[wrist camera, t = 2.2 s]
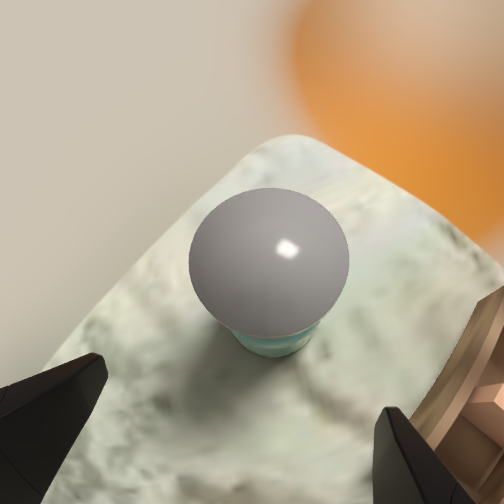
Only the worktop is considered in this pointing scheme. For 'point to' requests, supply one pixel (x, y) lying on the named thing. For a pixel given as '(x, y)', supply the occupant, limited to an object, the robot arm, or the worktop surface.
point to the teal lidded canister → (269, 267)
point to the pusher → (487, 411)
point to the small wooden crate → (455, 396)
